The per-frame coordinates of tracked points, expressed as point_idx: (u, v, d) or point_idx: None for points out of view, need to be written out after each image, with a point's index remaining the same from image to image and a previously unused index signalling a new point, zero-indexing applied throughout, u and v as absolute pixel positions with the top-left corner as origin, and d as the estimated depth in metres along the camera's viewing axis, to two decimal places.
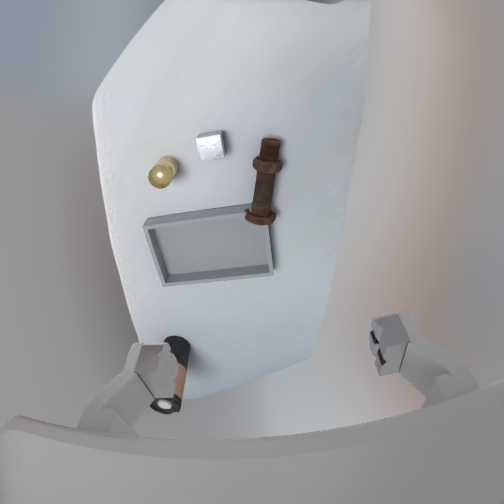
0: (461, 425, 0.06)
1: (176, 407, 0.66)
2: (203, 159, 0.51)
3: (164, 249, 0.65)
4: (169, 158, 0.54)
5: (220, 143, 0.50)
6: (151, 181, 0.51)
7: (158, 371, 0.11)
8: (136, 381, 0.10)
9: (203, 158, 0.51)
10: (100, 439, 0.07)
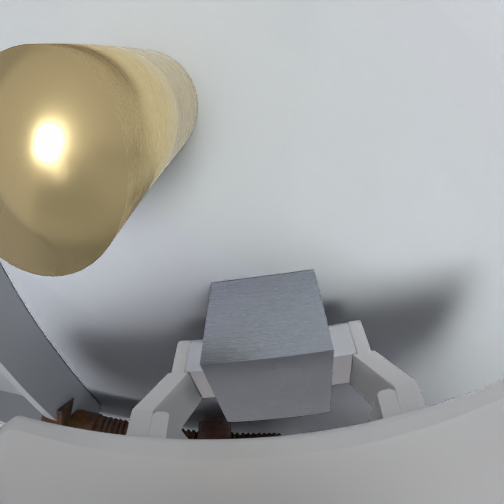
0: (461, 425, 0.06)
1: None
2: (212, 374, 0.09)
3: None
4: (188, 130, 0.08)
5: (291, 414, 0.11)
6: None
7: None
8: (187, 381, 0.10)
9: (216, 374, 0.09)
10: (100, 439, 0.07)
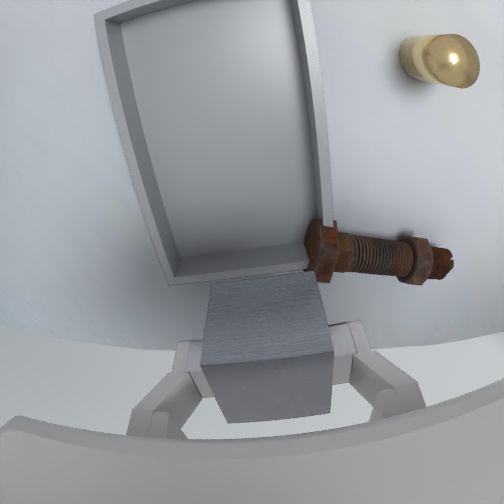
0: (461, 425, 0.06)
1: None
2: (212, 375, 0.09)
3: (201, 10, 0.18)
4: None
5: (291, 415, 0.11)
6: (452, 38, 0.14)
7: None
8: (187, 381, 0.10)
9: (216, 375, 0.09)
10: (100, 439, 0.07)
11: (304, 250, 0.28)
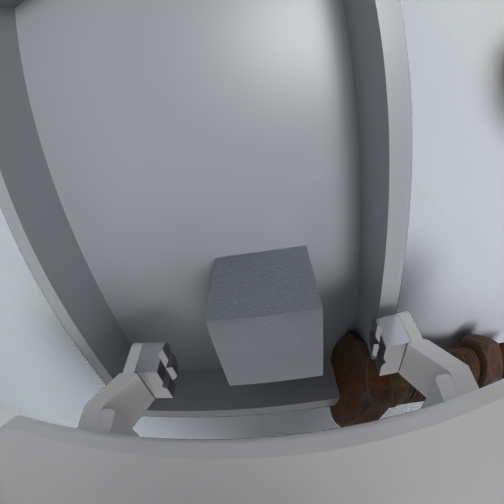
0: (461, 425, 0.06)
1: None
2: (215, 333, 0.11)
3: None
4: None
5: (287, 377, 0.13)
6: None
7: (158, 371, 0.11)
8: (136, 381, 0.10)
9: (220, 333, 0.11)
10: (100, 439, 0.07)
11: (332, 375, 0.17)
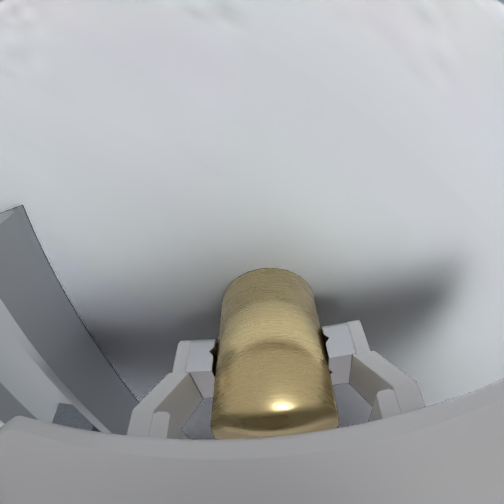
0: (461, 425, 0.06)
1: None
2: None
3: None
4: None
5: None
6: (253, 410, 0.08)
7: (212, 369, 0.10)
8: (188, 381, 0.10)
9: None
10: (100, 439, 0.07)
11: None
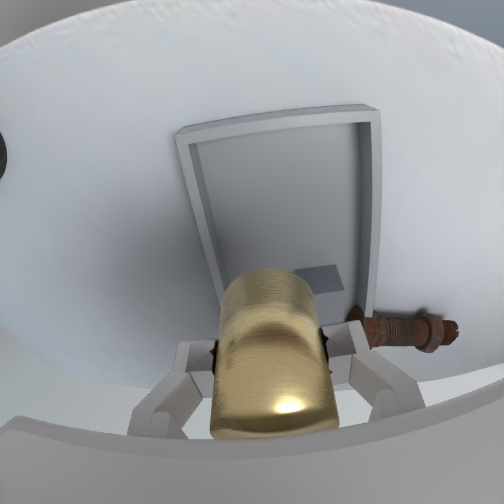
0: (461, 425, 0.06)
1: None
2: None
3: (277, 133, 0.24)
4: None
5: (328, 322, 0.29)
6: (253, 412, 0.08)
7: (212, 369, 0.10)
8: (188, 381, 0.10)
9: None
10: (100, 439, 0.07)
11: None
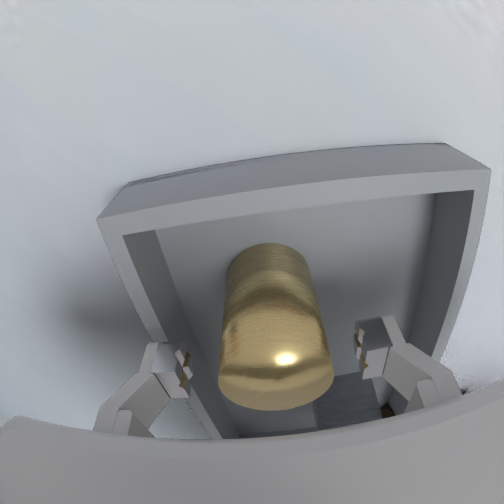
0: (461, 425, 0.06)
1: None
2: None
3: None
4: None
5: None
6: (257, 358, 0.09)
7: (176, 371, 0.10)
8: (153, 381, 0.10)
9: None
10: (100, 439, 0.07)
11: None
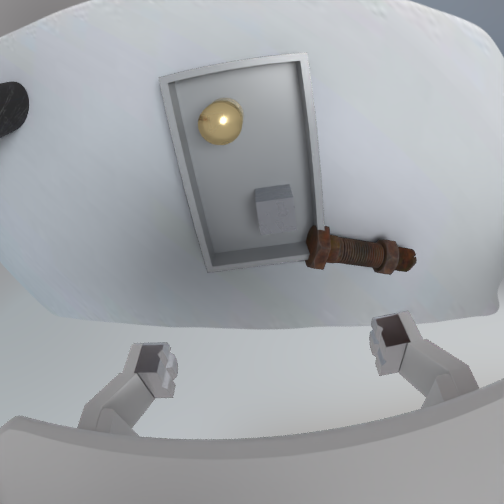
0: (461, 425, 0.06)
1: None
2: (258, 207, 0.33)
3: (235, 77, 0.30)
4: None
5: (283, 230, 0.35)
6: (211, 108, 0.26)
7: (158, 371, 0.11)
8: (136, 381, 0.10)
9: (260, 207, 0.33)
10: (100, 439, 0.07)
11: (304, 247, 0.39)
